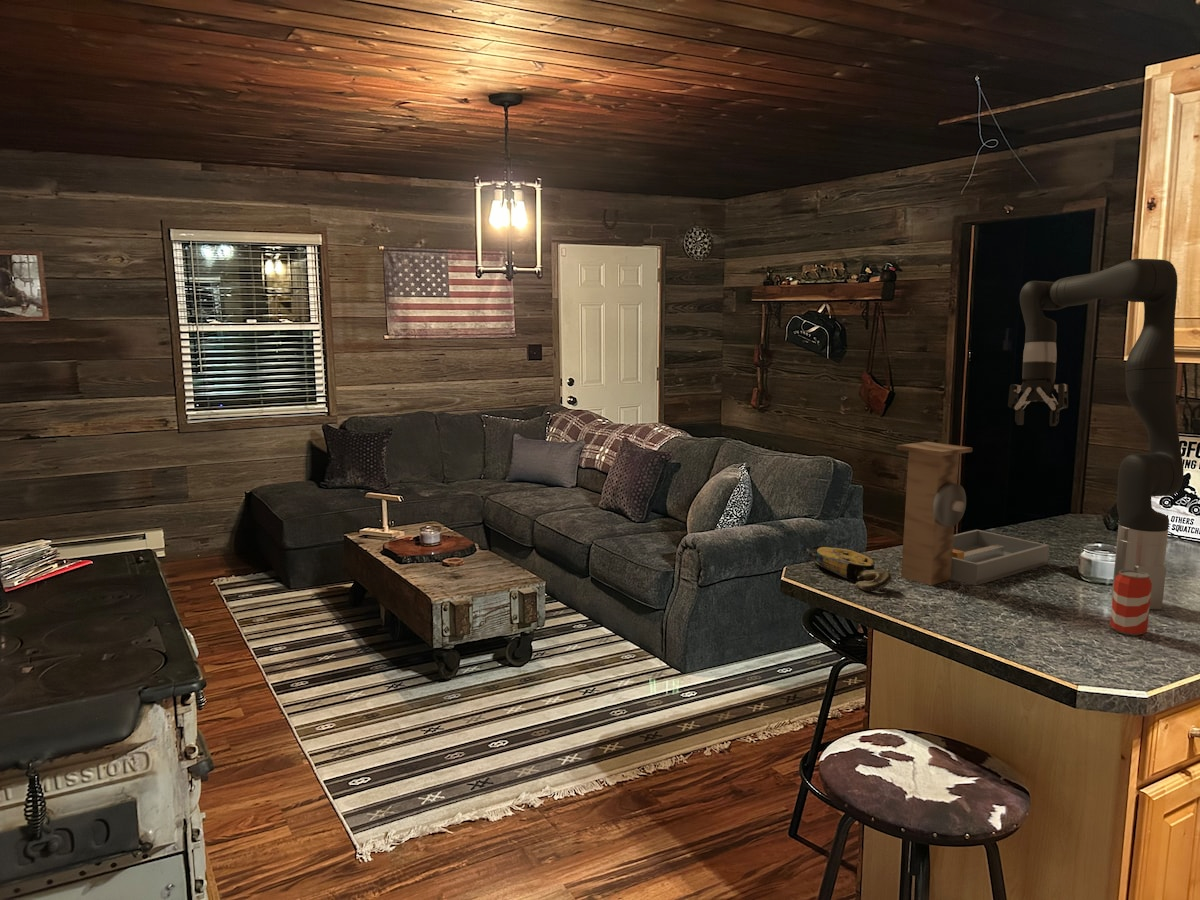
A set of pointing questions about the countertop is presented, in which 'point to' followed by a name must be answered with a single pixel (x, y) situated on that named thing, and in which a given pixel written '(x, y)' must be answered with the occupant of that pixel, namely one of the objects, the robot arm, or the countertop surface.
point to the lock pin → (979, 553)
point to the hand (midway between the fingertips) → (1036, 425)
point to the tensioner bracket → (931, 510)
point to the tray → (1014, 561)
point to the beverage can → (1131, 602)
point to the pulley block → (851, 567)
